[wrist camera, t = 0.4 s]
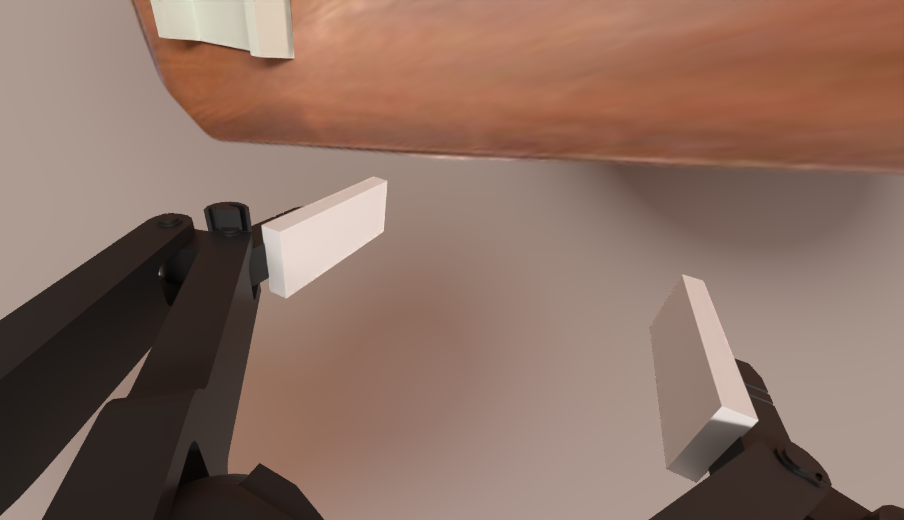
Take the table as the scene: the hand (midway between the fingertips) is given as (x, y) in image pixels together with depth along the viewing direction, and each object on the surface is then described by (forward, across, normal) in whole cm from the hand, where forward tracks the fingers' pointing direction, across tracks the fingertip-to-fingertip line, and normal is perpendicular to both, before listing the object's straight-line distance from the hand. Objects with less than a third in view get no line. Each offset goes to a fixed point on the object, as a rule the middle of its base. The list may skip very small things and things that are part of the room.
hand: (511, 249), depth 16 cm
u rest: (+28, -46, +6) cm, 54 cm away
